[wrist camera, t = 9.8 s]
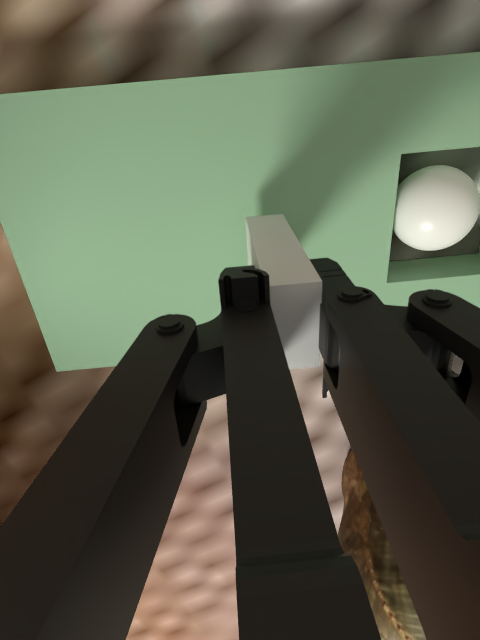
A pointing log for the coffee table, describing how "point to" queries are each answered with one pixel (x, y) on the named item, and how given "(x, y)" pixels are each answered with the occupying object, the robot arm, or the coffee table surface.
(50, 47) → the coffee table surface
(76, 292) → the mat
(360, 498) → the ribbed round cactus
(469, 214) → the ball
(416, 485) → the robot arm
